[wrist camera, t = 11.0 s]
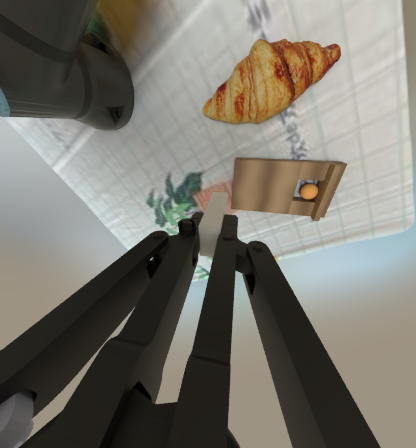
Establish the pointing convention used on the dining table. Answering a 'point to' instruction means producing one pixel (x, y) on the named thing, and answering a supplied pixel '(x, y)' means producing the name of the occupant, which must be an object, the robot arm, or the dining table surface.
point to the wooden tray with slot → (284, 185)
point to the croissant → (270, 80)
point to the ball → (309, 191)
